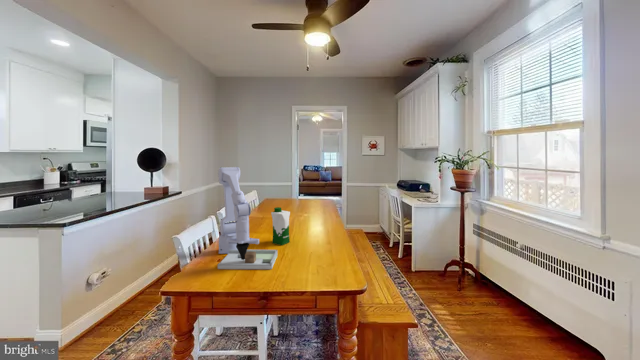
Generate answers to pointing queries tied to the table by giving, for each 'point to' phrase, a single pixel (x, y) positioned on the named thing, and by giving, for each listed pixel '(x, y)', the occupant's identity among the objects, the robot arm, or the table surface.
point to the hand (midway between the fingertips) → (243, 258)
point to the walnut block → (250, 257)
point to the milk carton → (280, 226)
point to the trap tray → (263, 261)
